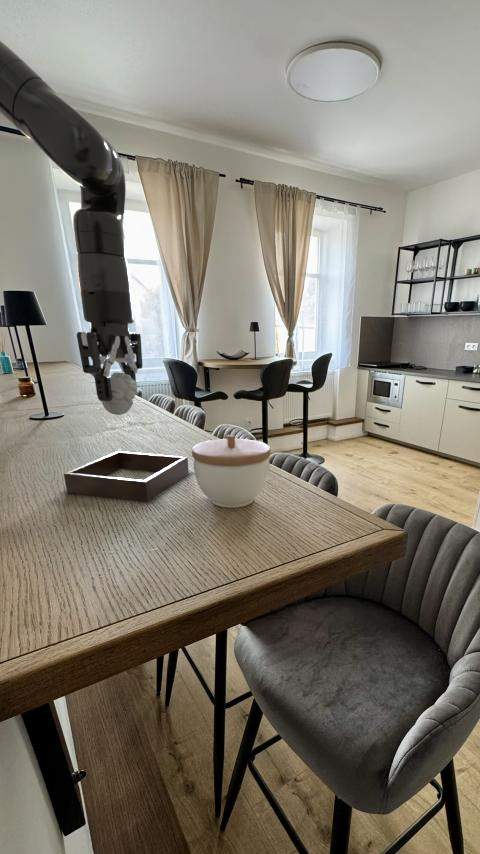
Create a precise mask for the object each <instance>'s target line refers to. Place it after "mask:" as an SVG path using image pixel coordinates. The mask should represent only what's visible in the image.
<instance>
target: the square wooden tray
mask: <svg viewBox="0 0 480 854" xmlns="http://www.w3.org/2000/svg"><path fill="white" fill-rule="evenodd" d="M119 470H130V471H142V472H153V473H154V474H152V475H151V476H149V477H147V478H145V479H144V480H143V479H136V478H135V479H134V478H126V477H117V476H115V477H114V476H109V475H111V474H113V473H115V472H117V471H119ZM189 474H190V473H189V458H188V457H187V456H180V455H179V456H178V455H177V456H176V455H167V454H166V455H165V454H155V453H143V452H131V451H119V450H118V451H115V452H112V453H110V454H108V455H105V456H103V457H100V458H98V459H95V460H93V461H90V462H88V463H86V464H84V465H80V466H78V467H76V468H73V469H72V470H69V471H67V472H64V473H63V479H64V483H65V488H66V493H68V494H74V495H75V494H78V495H85V496H93V497H101V498H111V499H119V500H121V499H122V500H129V501H138V502H146V503H148V502H150V501H151V500H153V499H154V498H155V497H157V496H159V495H160V494H162V493H163V492H164V491H166V490H168V489H169V488H170V487H172V486H173V485H175V484H176V483H178V482H179V481H180V480H182V479H184V478H185V477H187V476H188V475H189Z"/></svg>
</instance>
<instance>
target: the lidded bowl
mask: <svg viewBox="0 0 480 854" xmlns="http://www.w3.org/2000/svg"><path fill="white" fill-rule="evenodd" d="M226 437H227V438H217V439H210V440H205V441H203V442H199V443H197V444H195V445H193V447H192V448H191V456H192V461H193V471H194V475H195V479H196V482H197V485H198V487H199V489H200V490H201V492H202V494H204V496H206V497H207V498H208V499H209V500H211V503H212V504H213V505H215V506H218V507H220V508H228V509H234V508H242V507H246V506H249V505H251V504H252V503H254V501H255V499H256V498H257V497H258V496H259V495H260V494H261V493H262V492H263V490H264V488H265V486H266V484H267V482H268V477H269V472H270V456H271V447H270V446H269V444H267V443H265V442H263V441H259V440H254V439H246V438H236V435H234V434H228V435H227V436H226Z"/></svg>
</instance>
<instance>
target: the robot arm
mask: <svg viewBox="0 0 480 854" xmlns="http://www.w3.org/2000/svg"><path fill="white" fill-rule="evenodd" d="M0 114H1V115H2V116H3V117H4V118H5V119H6V120H7V121H9V123H11V124H12V125H13V126H14V127H15V128H16V129H18V131H19V132H21V133H22V134H23V135H24V136H25V137H27V138H28V139H29V140H30V141H32V142H33V143H35V145H37V147H38V148H39V149H40V150H41V151H42V152H43V153H44V155H46V157H48V158H49V159H50V160H51V162H53V164H54V165H55V166H57V168H59V169H60V171H62V172H63V173H64V174H65V175H67V177H69V178H70V179H71V180H72V181H74V182H75V183H76V184H77V185H79V188H80V208H79V209H77V210H76V211H75V213H74V214H73V219H72V220H73V221H72V223H73V225H72V226H73V234H74V242H75V248H76V249H75V250H76V255H77V256H76V257H77V277H78V284H79V291H80V299H81V307H82V313H83V319H84V320H85V321H86V322H87V323H90V331H78V332H77V333H76V339H77V345H78V351H79V356H80V362H81V367H82V371H83V373H85V374H88V375H89V374H90V375H91V376H92V377H93V378H94V383H95V384H94V385H95V390H96V391H95V393H96V396H97V400H98V401H100V402H101V401H111V400H112V391H111V382H110V377H111V376H110V373H111V372H110V371H111V367H112V365H114V364H115V362H116V363H118V365H119V368H120V370H121V373H124V374H127V375H130V376H131V378H132V379H133V380H135V381H136V382H137V377H136V374H137V373H138V370H140V369H143V353H142V336H141V334H140V333H139V332H130V330H129V324H130V325H131V324H134V322H135V315H134V306H133V294H132V284H131V283H132V282H131V275H130V270H129V265H128V260H127V249H126V240H125V239H126V238H125V231H124V220H125V212H126V209H125V208H126V196H127V195H126V193H127V192H126V191H127V188H126V187H127V186H126V175H125V170H124V169H125V168H124V165H123V162H122V160H121V157H120V155H119V154H118V152H117V150H116V149H115V148H114V147H113V145H112V144H111V143H110V142H109V141H108V140H107V139H106V137H104V135H102V134H101V132H100V131H99V130H98V129H96V127H95V126H94V125H92V124H91V122H89V121H88V120H87V118H85V117H84V116H82V115H81V114H80V113H79V112H78V111H77V110H76V109H74V108H73V107H72V106H71V105H70V104H68V103H67V102H66V101H65V100H63V99H62V98H61V97H60V96H59V94H57V92H56V91H55V90H54V89H53V88H52V87H51V86H50V85H49V84H48V83H47V82H46V81H45V80H44V79H43V78H42V77H41V76H40V75H39V74H38V73H37V72H36V71H35V70H34V69H32V67H30V65H28V64H27V63H26V62H25V61H24V60H23V59H22V58H21V57H20V56H19V55H18V54H16V53H15V52H14V51H13V50H12V49H11V48H10V47H9V46H7V45H6V44H5V43H4V42H3V41H1V40H0ZM90 360H91V362H92V364H90ZM137 395H138V391H137V392H136V394H135V396H137Z"/></svg>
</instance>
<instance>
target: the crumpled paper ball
mask: <svg viewBox="0 0 480 854" xmlns="http://www.w3.org/2000/svg"><path fill="white" fill-rule="evenodd" d="M109 377H110V382H111V391H112V400H111V401H100V402H101V404H102V406H103V408H104V409H105V410H106V411H107V412H108V413H110V414H112V415H116V416H121V415H125V414H126V413H128V412H129V411H130V410H131V409H132V406H133V404H134V401H133V399H135V397H136V395H137V394H136V392H137V393H138V384H137V380H136V381H135V380H133V379H132V378H131V376H130V375H127V374H124V373H123V372H112V374H111V376H109ZM135 394H136V395H135Z"/></svg>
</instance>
